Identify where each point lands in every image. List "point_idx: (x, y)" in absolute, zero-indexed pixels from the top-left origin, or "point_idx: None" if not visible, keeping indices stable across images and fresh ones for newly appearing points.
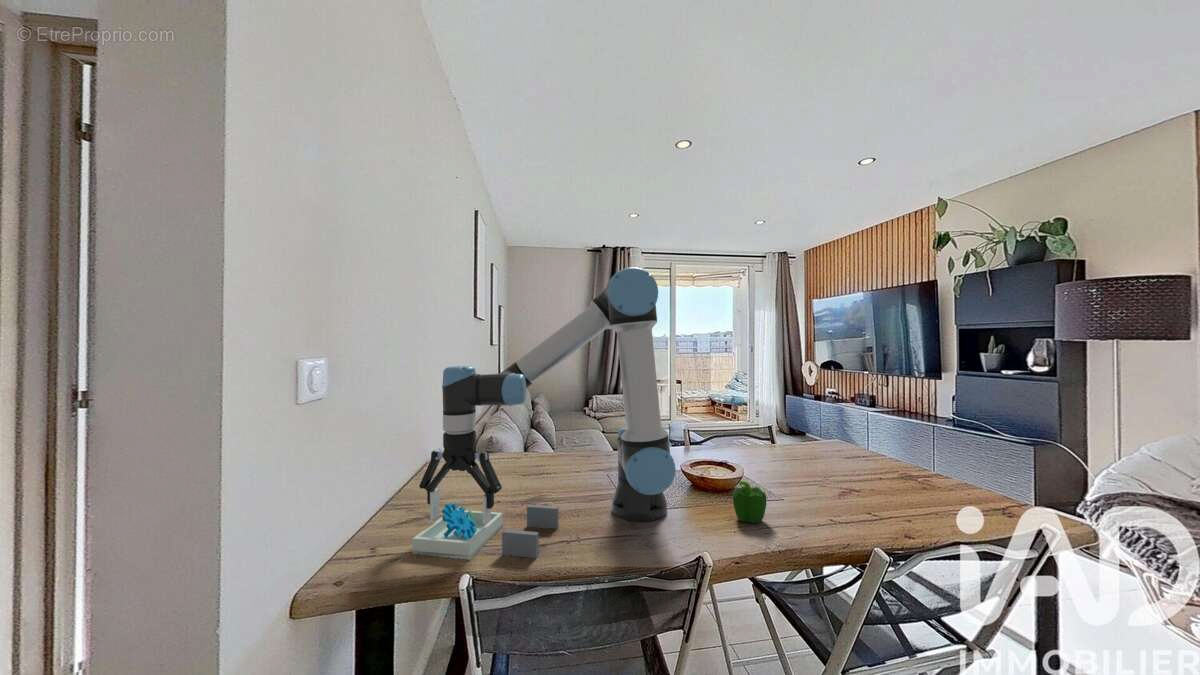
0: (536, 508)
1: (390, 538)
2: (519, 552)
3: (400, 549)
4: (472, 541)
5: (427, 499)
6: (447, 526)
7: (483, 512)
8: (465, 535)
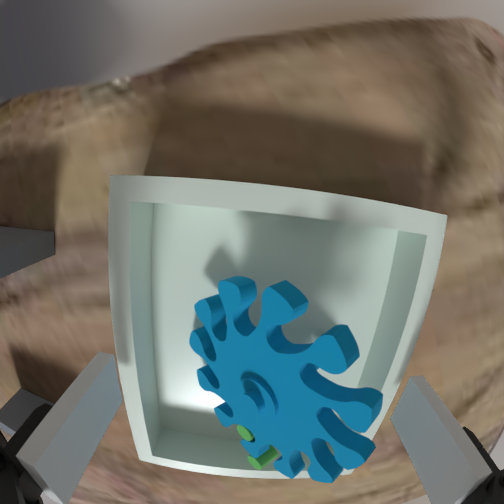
0: None
1: (493, 313)
2: (5, 229)
3: (457, 244)
4: (109, 203)
5: (479, 442)
6: (294, 290)
7: (80, 391)
8: (202, 306)
